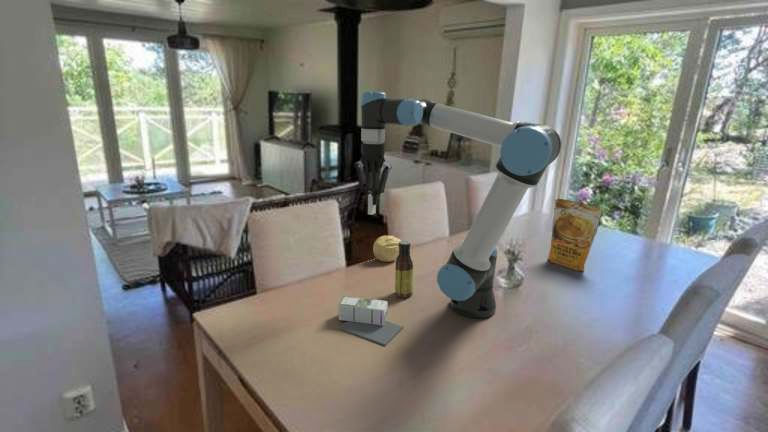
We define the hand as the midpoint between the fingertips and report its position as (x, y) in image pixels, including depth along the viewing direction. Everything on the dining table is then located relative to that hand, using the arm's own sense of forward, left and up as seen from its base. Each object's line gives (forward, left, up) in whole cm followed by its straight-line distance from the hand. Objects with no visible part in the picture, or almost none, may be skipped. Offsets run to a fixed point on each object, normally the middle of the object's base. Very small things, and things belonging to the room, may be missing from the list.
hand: (371, 213), depth 136 cm
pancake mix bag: (-57, -71, -30) cm, 96 cm away
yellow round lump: (+11, -32, -30) cm, 45 cm away
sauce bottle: (-10, -7, -30) cm, 33 cm away
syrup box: (0, +18, -27) cm, 32 cm away
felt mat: (-12, +18, -30) cm, 37 cm away
